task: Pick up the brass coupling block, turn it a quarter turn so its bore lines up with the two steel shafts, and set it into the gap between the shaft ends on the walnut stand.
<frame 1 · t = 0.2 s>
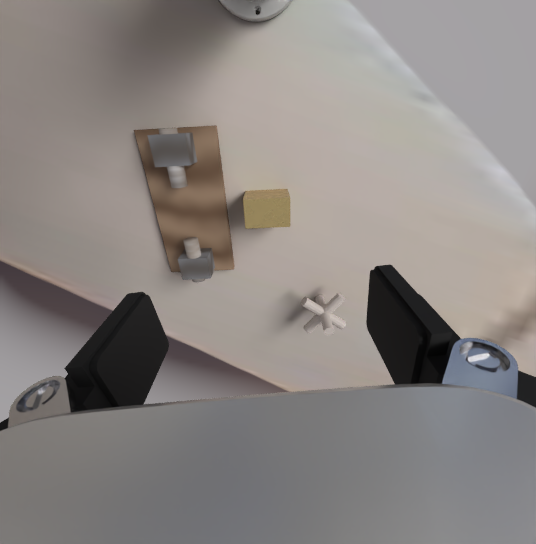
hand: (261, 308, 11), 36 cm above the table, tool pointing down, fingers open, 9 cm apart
pipe connector: (319, 297, 55), on the table
shaft stand: (192, 207, 45), on the table
coupling: (267, 203, 45), on the table
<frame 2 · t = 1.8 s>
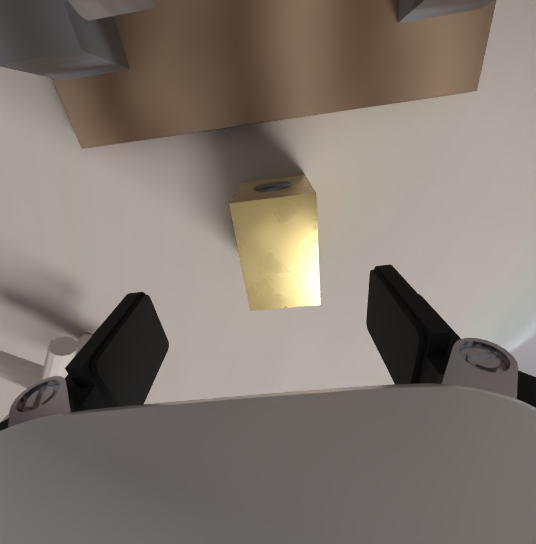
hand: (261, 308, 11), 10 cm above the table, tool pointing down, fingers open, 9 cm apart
pipe connector: (91, 339, 27), on the table
coupling: (278, 224, 20), on the table
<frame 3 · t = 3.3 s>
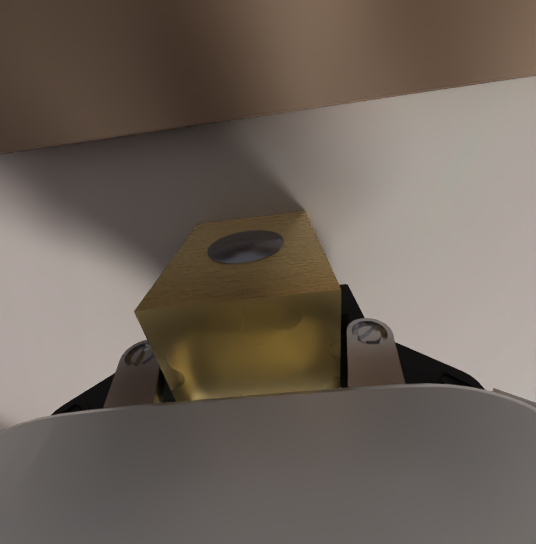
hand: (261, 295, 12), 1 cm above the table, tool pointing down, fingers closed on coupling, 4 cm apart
coupling: (262, 287, 13), on the table, touching gripper
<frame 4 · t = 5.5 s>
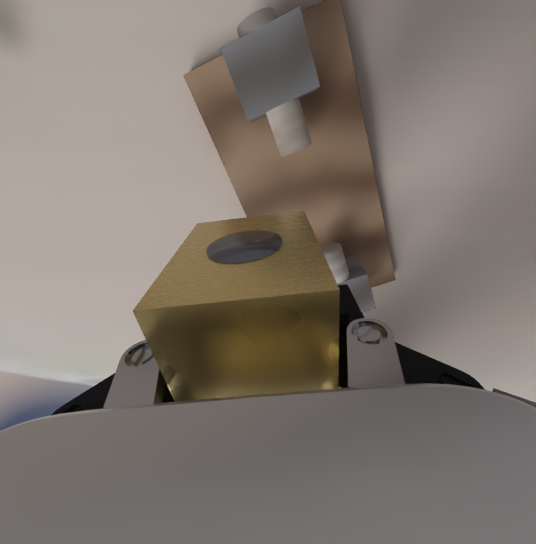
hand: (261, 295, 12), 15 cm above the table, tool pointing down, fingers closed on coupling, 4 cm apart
shaft stand: (306, 193, 25), on the table
coupling: (261, 287, 13), point 15 cm above the table, touching gripper
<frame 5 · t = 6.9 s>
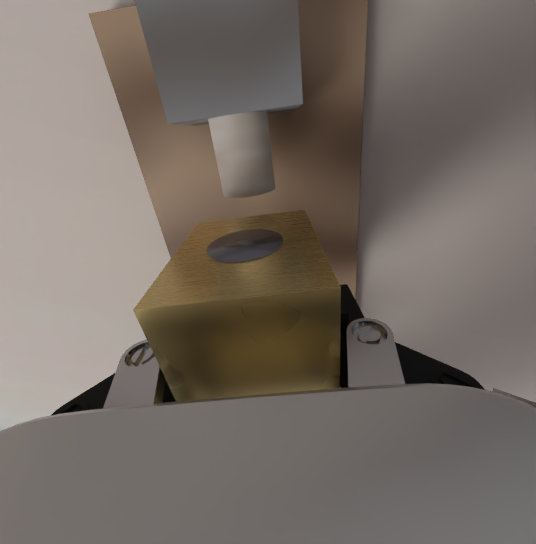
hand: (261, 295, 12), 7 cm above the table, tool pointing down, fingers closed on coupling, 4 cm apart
shaft stand: (263, 242, 18), on the table
coupling: (262, 287, 12), point 6 cm above the table, touching gripper
when the fingers open (3 cm above the table, at t = 8.0 s): coupling stays where it is, resting on shaft stand.
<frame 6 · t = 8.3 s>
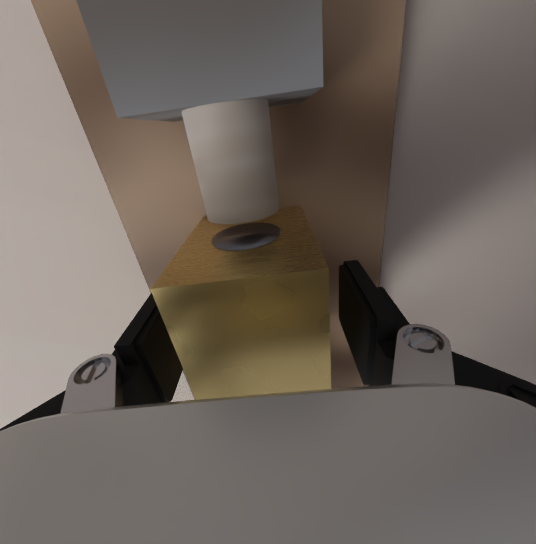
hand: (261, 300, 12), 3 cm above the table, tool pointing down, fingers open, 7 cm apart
shaft stand: (262, 266, 14), on the table
coupling: (261, 278, 13), point 1 cm above the table, touching shaft stand
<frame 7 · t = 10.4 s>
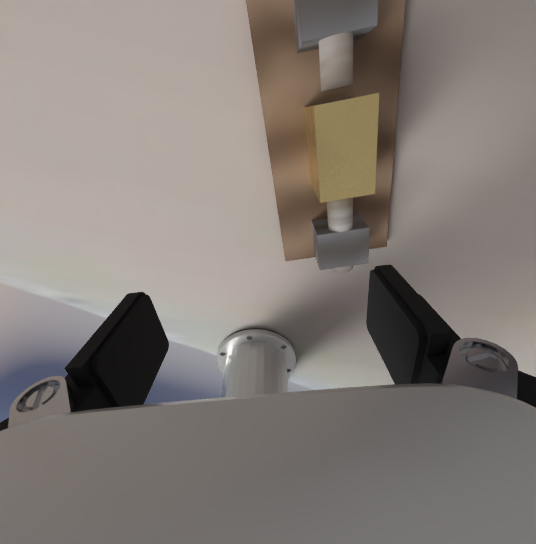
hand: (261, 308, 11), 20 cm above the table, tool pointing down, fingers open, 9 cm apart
shaft stand: (328, 143, 26), on the table
coupling: (330, 145, 25), point 1 cm above the table, touching shaft stand
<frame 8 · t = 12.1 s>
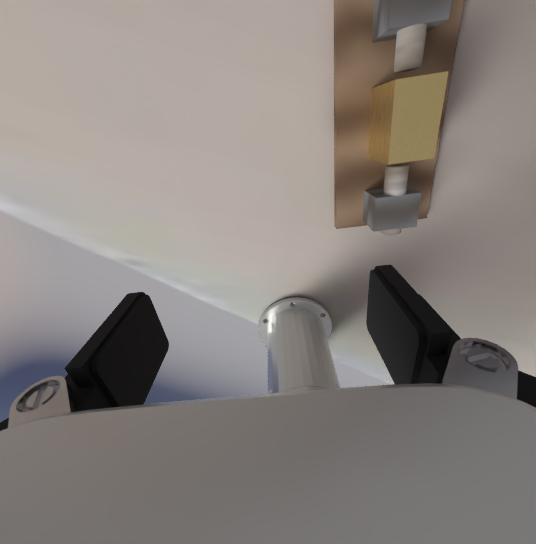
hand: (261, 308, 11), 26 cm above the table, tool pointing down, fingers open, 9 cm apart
shaft stand: (385, 122, 31), on the table
coupling: (389, 122, 30), point 1 cm above the table, touching shaft stand
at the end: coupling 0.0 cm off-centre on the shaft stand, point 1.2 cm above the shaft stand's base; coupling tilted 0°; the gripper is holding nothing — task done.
